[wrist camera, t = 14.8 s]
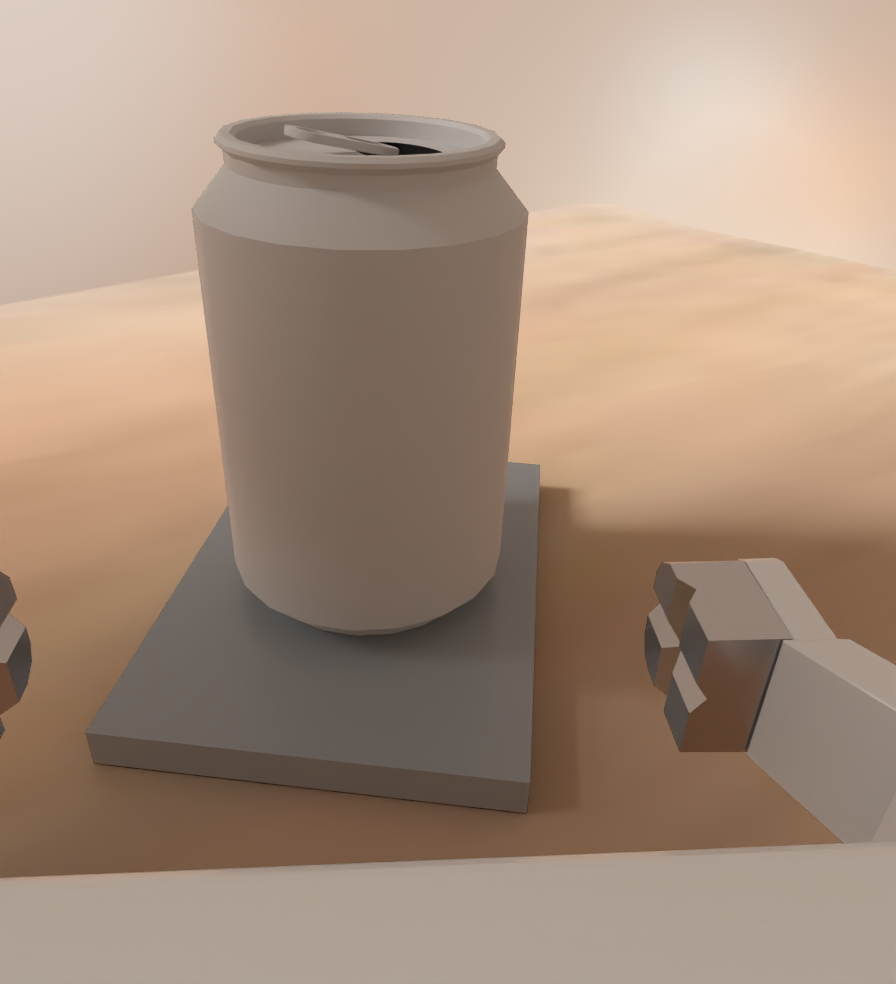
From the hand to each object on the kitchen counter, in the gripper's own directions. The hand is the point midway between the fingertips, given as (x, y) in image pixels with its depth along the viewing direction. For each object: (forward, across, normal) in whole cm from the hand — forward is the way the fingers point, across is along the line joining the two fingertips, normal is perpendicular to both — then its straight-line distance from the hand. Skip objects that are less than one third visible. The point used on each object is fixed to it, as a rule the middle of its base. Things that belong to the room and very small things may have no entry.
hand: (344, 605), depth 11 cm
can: (+11, 0, +8) cm, 14 cm away
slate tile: (+11, 0, +9) cm, 14 cm away
